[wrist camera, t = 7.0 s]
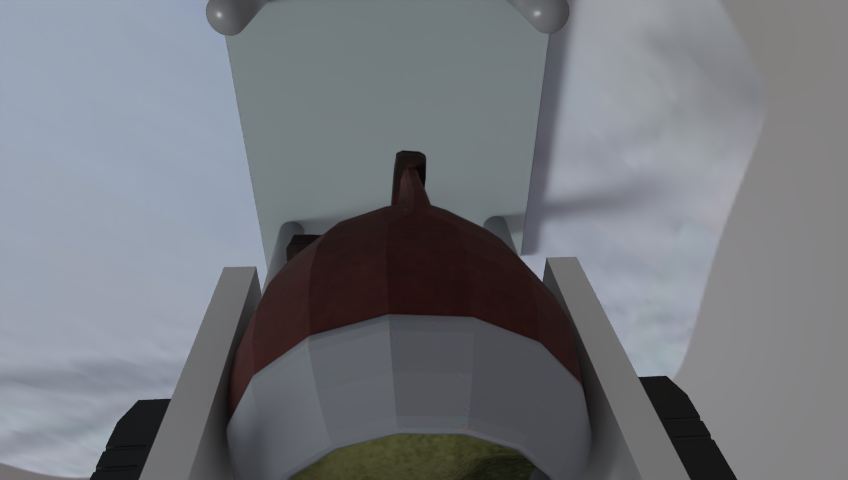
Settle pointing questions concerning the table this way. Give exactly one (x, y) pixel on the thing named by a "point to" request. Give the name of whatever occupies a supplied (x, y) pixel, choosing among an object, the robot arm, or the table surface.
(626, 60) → the table surface
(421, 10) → the tray
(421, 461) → the mate gourd
